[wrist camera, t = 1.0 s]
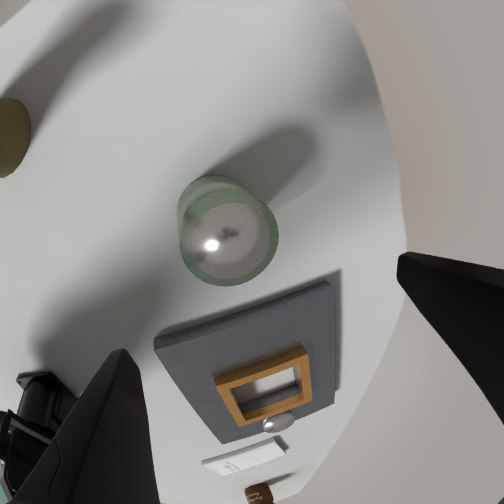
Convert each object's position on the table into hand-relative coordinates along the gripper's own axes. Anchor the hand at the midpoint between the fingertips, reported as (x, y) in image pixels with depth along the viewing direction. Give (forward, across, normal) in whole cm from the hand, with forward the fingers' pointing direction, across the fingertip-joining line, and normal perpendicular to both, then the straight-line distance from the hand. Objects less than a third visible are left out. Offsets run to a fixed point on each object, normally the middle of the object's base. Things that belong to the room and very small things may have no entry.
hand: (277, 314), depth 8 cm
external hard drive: (+13, +6, +41) cm, 43 cm away
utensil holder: (+12, +9, +64) cm, 66 cm away
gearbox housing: (+12, 0, +19) cm, 23 cm away
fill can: (+13, 0, 0) cm, 13 cm away
